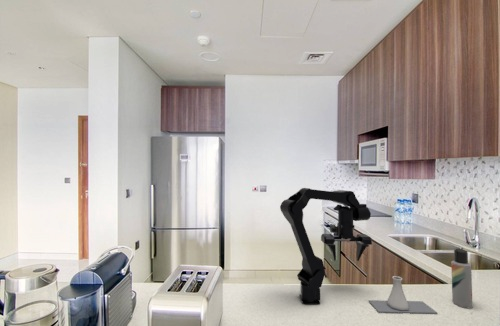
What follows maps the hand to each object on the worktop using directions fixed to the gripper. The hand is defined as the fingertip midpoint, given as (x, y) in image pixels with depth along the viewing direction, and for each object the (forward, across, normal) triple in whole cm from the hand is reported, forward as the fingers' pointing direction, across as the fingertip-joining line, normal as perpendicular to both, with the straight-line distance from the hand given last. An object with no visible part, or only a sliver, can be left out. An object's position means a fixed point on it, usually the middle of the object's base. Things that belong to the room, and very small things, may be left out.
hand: (346, 260), depth 102 cm
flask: (+13, -15, +10) cm, 22 cm away
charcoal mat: (+13, -16, +10) cm, 23 cm away
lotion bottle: (+13, -40, +7) cm, 43 cm away
